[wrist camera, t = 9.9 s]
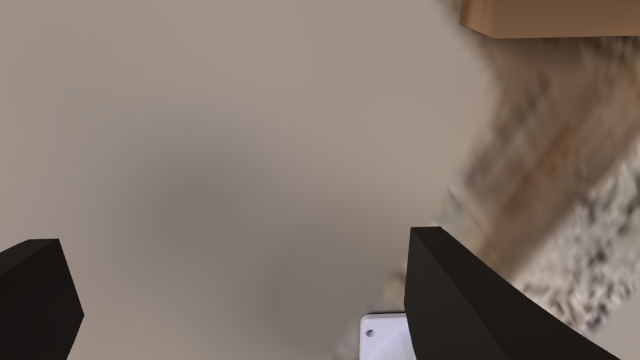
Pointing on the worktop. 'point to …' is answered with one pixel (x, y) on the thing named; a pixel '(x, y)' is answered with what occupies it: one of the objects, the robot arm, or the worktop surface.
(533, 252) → the worktop surface
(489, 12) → the walnut stand
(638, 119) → the worktop surface
